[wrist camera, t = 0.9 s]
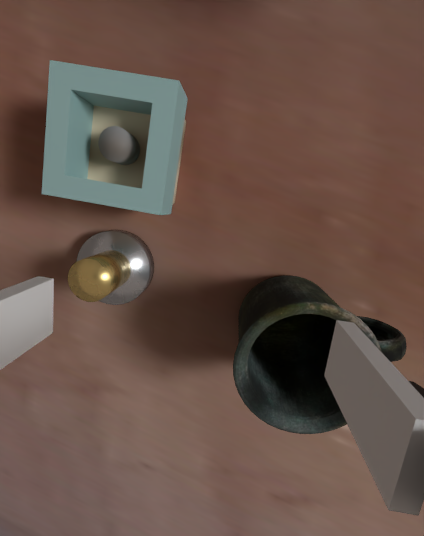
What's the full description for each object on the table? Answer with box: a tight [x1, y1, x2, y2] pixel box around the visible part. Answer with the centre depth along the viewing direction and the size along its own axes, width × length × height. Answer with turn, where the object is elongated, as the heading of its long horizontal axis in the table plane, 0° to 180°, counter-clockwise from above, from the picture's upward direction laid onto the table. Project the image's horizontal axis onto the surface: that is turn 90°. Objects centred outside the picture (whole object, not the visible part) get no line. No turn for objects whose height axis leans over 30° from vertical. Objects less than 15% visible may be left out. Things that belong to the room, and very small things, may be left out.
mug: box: [233, 276, 406, 434], centre depth 30 cm, size 11×15×12 cm
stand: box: [87, 106, 186, 204], centre depth 30 cm, size 8×8×7 cm
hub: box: [68, 230, 154, 305], centre depth 33 cm, size 8×8×8 cm
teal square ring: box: [42, 60, 188, 215], centre depth 27 cm, size 10×10×4 cm
